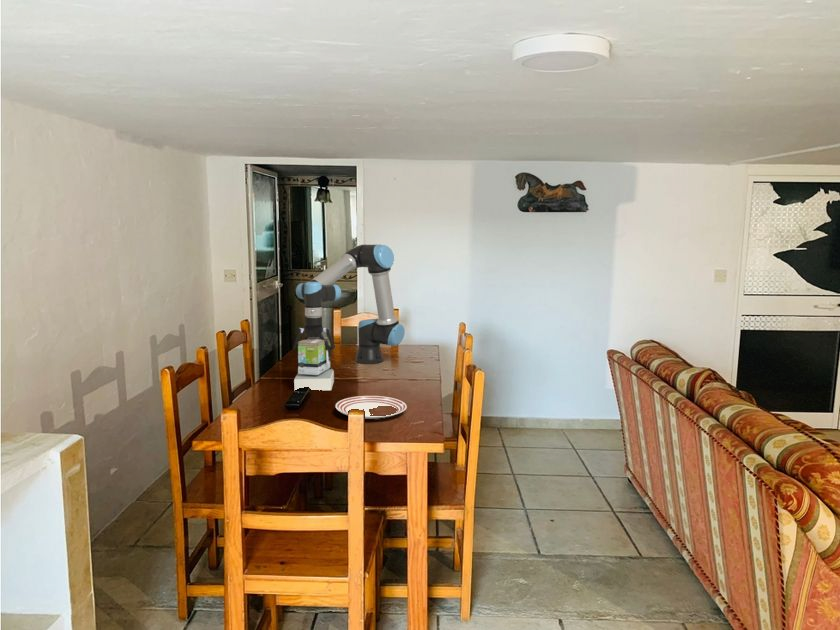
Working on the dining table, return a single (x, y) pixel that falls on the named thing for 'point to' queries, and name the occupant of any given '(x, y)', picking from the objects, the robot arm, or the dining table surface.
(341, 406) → the dinner plate
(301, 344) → the tea box
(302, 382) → the plinth
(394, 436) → the dining table surface
